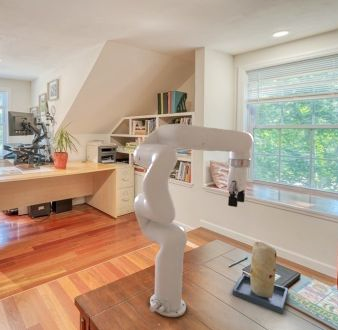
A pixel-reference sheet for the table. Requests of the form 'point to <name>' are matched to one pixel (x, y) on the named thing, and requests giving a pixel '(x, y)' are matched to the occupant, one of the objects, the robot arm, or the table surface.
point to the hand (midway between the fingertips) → (236, 203)
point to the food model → (263, 269)
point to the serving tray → (246, 293)
